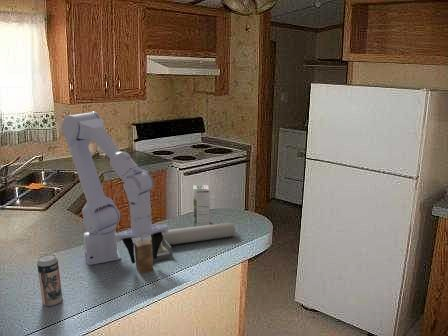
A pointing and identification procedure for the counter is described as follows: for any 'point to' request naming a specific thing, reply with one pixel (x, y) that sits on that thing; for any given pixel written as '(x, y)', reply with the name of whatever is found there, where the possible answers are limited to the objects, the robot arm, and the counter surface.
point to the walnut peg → (143, 256)
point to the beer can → (49, 280)
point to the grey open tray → (163, 251)
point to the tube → (199, 233)
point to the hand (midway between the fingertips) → (143, 259)
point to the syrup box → (201, 205)
